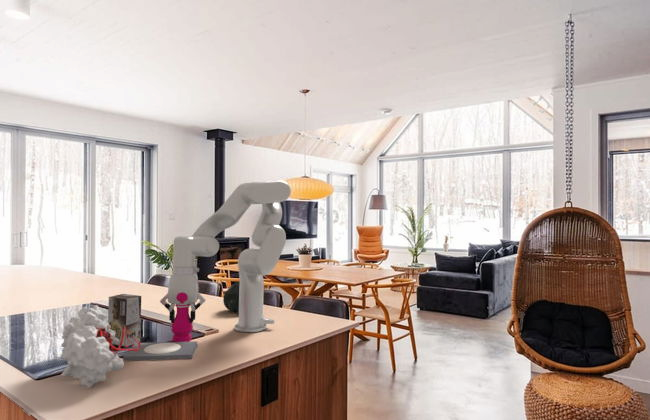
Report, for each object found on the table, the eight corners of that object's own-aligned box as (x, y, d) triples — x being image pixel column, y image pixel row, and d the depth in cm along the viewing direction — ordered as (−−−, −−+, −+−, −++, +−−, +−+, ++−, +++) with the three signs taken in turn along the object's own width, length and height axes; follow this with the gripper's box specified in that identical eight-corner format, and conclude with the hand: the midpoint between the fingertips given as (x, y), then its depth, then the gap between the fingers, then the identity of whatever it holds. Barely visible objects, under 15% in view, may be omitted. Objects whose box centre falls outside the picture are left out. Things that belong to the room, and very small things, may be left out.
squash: (250, 295, 210) (233, 274, 204) (266, 301, 199) (248, 279, 192) (230, 316, 203) (211, 295, 197) (245, 324, 192) (226, 302, 185)
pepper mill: (195, 338, 154) (197, 282, 154) (187, 343, 146) (189, 285, 147) (176, 337, 154) (178, 282, 155) (167, 342, 147) (169, 285, 147)
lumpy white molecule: (134, 393, 122) (97, 332, 134) (162, 347, 118) (120, 287, 129) (63, 418, 105) (26, 345, 117) (91, 364, 101) (51, 294, 112)
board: (197, 344, 145) (197, 340, 145) (191, 358, 132) (191, 353, 132) (135, 346, 142) (135, 342, 142) (123, 360, 128) (123, 356, 128)
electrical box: (141, 342, 147) (142, 295, 147) (125, 347, 141) (126, 298, 141) (122, 338, 151) (124, 293, 151) (106, 343, 145) (108, 296, 145)
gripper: (209, 269, 156) (208, 319, 156) (160, 269, 153) (159, 320, 153) (207, 272, 149) (206, 324, 148) (156, 272, 146) (154, 325, 145)
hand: (182, 321), depth 150 cm, fingers closed on pepper mill, 5 cm apart
